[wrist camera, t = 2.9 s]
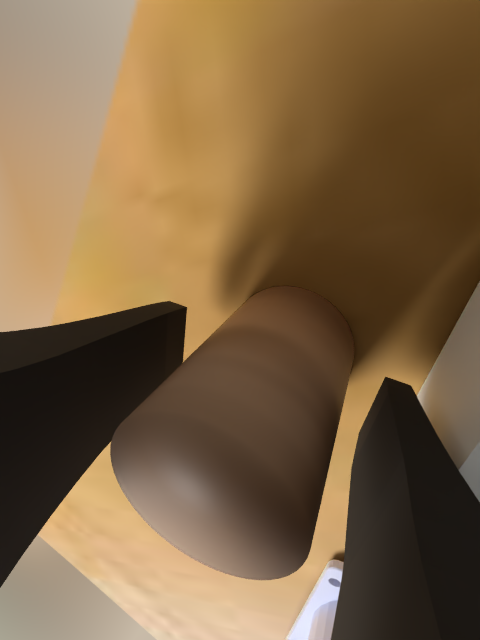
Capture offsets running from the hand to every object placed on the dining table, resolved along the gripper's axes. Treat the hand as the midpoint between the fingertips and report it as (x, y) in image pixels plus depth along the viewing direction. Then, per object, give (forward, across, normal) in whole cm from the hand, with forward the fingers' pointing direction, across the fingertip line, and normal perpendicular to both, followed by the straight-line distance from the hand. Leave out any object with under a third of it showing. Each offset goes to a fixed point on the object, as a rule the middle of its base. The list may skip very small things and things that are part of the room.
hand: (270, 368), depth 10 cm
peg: (+2, 0, 0) cm, 2 cm away
